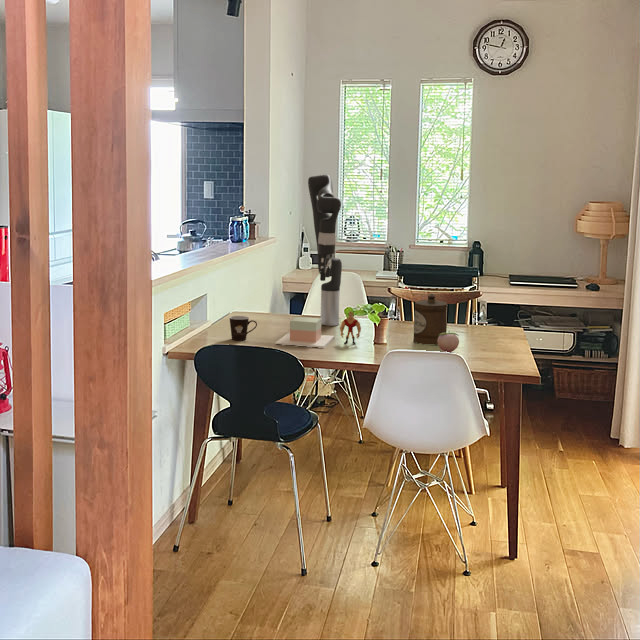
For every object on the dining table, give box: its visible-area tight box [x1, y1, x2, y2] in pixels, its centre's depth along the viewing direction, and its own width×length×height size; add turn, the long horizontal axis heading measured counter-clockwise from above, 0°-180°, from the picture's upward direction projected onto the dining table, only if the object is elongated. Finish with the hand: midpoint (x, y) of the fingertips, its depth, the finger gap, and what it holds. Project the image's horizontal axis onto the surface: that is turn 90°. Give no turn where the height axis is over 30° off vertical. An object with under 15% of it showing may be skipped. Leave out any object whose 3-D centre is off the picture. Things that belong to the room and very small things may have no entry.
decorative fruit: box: [437, 330, 460, 353], centre depth 347 cm, size 9×8×10 cm
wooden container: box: [413, 293, 448, 345], centre depth 368 cm, size 15×15×22 cm
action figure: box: [339, 310, 362, 345], centre depth 361 cm, size 10×4×15 cm, turn 82°
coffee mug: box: [229, 315, 258, 342], centre depth 364 cm, size 12×9×10 cm
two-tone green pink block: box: [275, 316, 335, 349], centre depth 363 cm, size 22×22×10 cm
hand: (324, 278), depth 359 cm, fingers open, 8 cm apart
